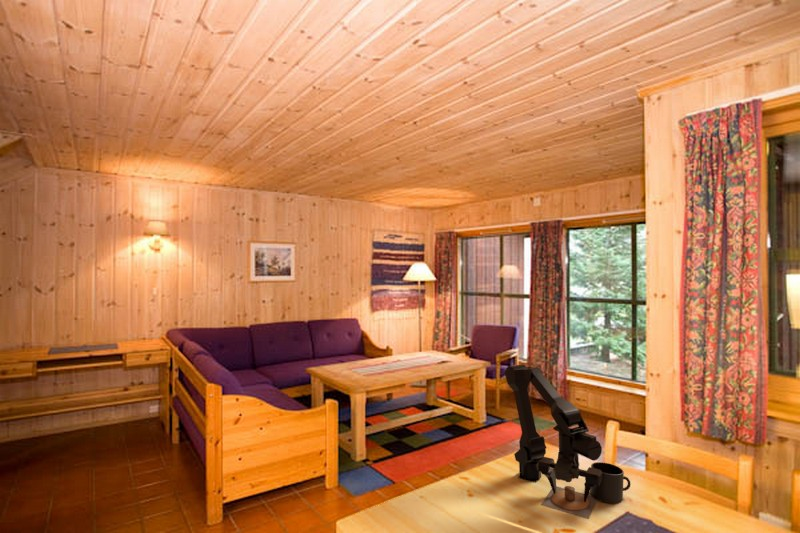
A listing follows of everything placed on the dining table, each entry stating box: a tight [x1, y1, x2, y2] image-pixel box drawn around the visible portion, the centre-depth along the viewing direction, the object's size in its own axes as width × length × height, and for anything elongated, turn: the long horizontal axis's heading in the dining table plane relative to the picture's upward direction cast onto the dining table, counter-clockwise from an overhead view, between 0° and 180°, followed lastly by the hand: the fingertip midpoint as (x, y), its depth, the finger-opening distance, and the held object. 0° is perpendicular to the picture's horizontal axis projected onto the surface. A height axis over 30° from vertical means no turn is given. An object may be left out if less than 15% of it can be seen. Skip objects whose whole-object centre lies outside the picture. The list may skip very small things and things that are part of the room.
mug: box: [589, 461, 632, 505], centre depth 140 cm, size 9×12×9 cm
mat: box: [540, 485, 598, 520], centre depth 137 cm, size 14×14×1 cm
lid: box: [551, 485, 589, 511], centre depth 137 cm, size 11×11×4 cm
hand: (569, 497), depth 138 cm, fingers open, 9 cm apart
